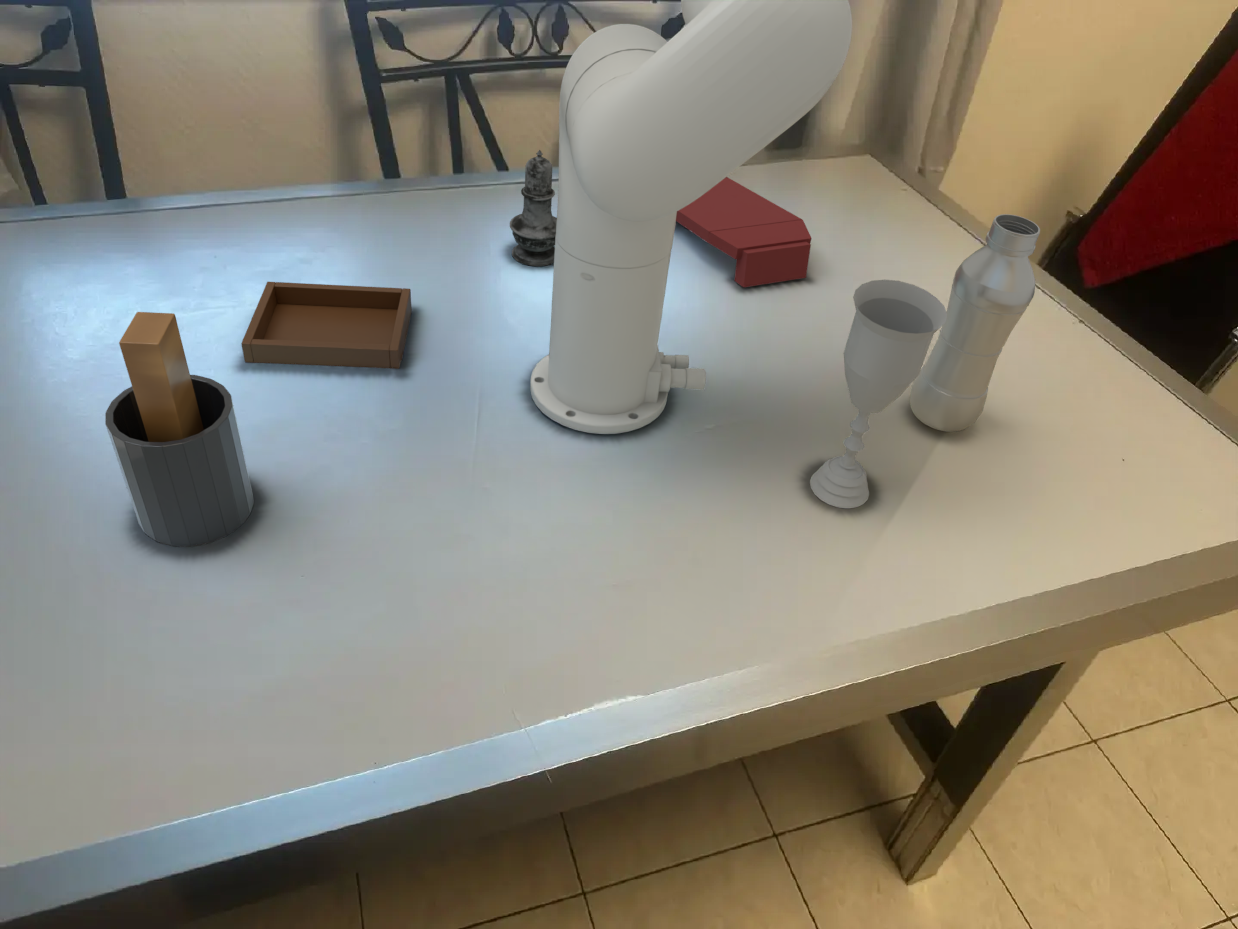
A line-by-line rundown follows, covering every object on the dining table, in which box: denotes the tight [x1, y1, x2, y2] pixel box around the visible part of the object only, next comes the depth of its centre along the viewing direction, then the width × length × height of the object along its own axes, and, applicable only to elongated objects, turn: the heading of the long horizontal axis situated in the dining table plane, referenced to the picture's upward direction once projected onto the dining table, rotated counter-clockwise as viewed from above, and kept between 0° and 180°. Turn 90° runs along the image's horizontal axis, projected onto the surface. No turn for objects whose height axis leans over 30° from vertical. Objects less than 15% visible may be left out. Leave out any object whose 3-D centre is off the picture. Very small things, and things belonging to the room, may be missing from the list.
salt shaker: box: [509, 149, 557, 267], centre depth 102 cm, size 6×6×12 cm
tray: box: [240, 281, 413, 370], centre depth 90 cm, size 14×11×3 cm
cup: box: [104, 374, 255, 547], centre depth 69 cm, size 8×8×10 cm
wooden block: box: [118, 311, 204, 442], centre depth 66 cm, size 2×4×16 cm, turn 3°
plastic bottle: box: [908, 213, 1041, 433], centre depth 83 cm, size 6×7×20 cm
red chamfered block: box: [676, 176, 812, 288], centre depth 114 cm, size 12×5×25 cm
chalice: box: [809, 279, 947, 509], centre depth 75 cm, size 7×7×18 cm
